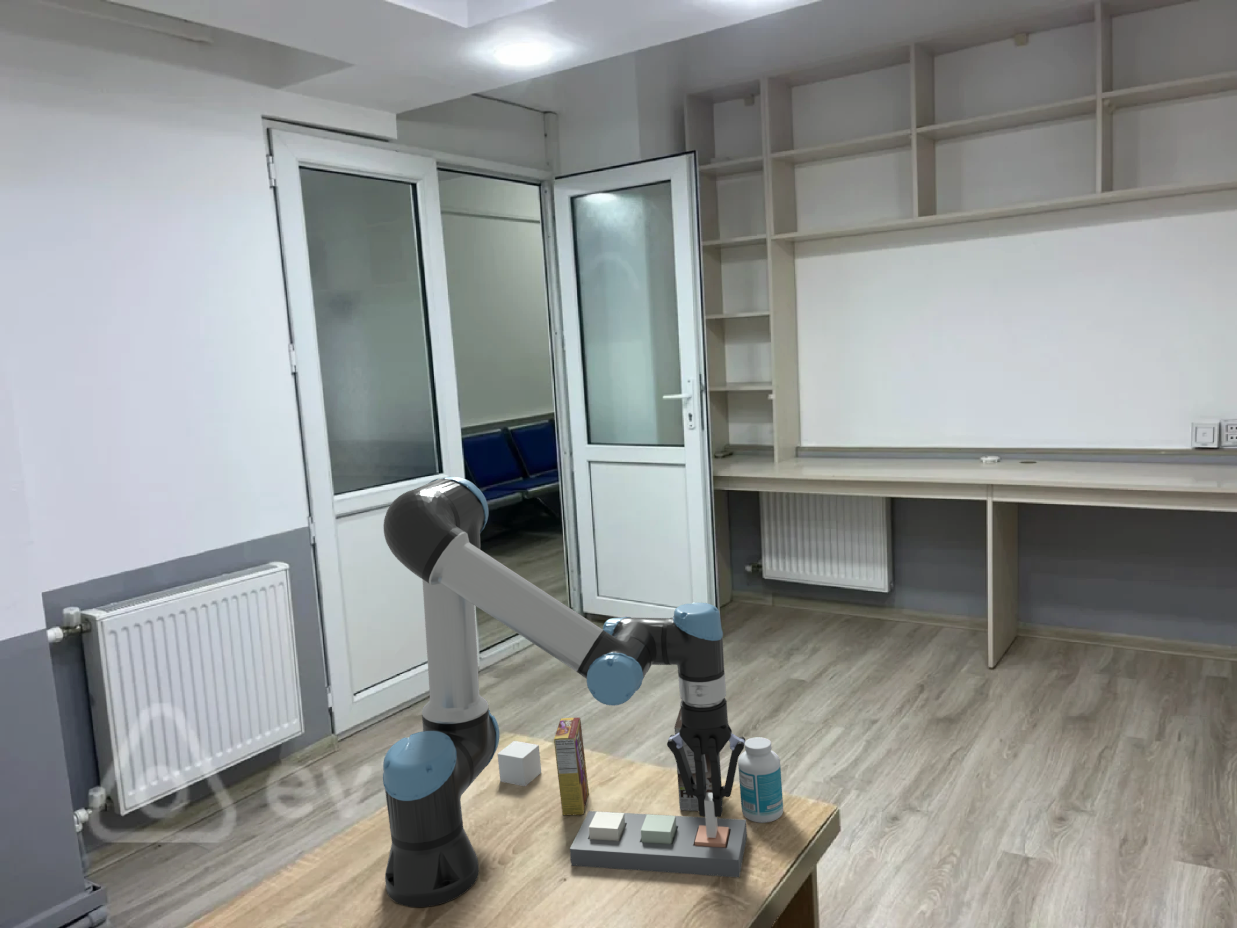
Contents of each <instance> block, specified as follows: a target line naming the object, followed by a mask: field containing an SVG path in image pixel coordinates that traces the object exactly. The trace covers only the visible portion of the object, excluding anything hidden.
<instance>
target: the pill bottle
mask: <svg viewBox="0 0 1237 928" xmlns="http://www.w3.org/2000/svg"><path fill="white" fill-rule="evenodd" d="M772 748H773V746H772V741H771V740H770V739H768V738H767V737H766V738H765V737H761V736H760V737H759V736H758V737H757V736H755V737H750V738H748V739H745V745H744V751H742V752H741V753H740V755H739V757H738V762H737V766H738V779H739V794H740V795H739V796H740V804H741V805H740V806H741V813H742V815H743V816H744V817H745V818H746V819H747V820H749V821H750V822H754V823H762V824H764V823H771V822H774V821H776V820H778V819H780V818H781V817H782V816H783V812H784V799H783V798H784V797H783V787H782V785H783V784H782V783H783V782H782V772H781V771H782V768H781V759H780V756H779V755H778V754H777V753H776V752H775V751H774V750H773V749H772Z"/></svg>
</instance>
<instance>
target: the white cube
mask: <svg viewBox="0 0 1237 928" xmlns="http://www.w3.org/2000/svg"><path fill="white" fill-rule="evenodd" d="M540 754H541V753H540V745H539V744H535V743H528V742H524V741H517V740H513V741H512V742H511V743H509V744H508V745H507V746H506V747H504V748H503V749H501V750H500V751H499V752H498V753H497V762H498V771H499V772H498V773H499V782H501V783H505V784H511V785H516V786H522V787H526V786H527V785H529V784H530V783H532V781H533V780H534V779H536V778H537V777H538V776H539V775H540V774H542V766H541V765H542V764H541V755H540Z"/></svg>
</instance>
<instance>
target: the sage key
mask: <svg viewBox="0 0 1237 928" xmlns="http://www.w3.org/2000/svg"><path fill="white" fill-rule="evenodd" d="M646 814H647V815H646V818H645V821H644V823H643V826H642V828H641V840H642V843H658V844H673V841H674V838H675V835H676V832H677V829H676V816H677V815H671V816H666V815H667V814H653V815H649V813H646Z"/></svg>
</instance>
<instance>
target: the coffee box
mask: <svg viewBox="0 0 1237 928" xmlns="http://www.w3.org/2000/svg"><path fill="white" fill-rule="evenodd" d="M681 726H682V720H681V707H680V708H679V711H678V715H677V718H676V720H675V725H674V728H673V729H674V735H676V734H677V733H679V731H680V728H681ZM682 740H683V739H682ZM683 748H684V751H685V754H686V757H687V760H688V763H689V766H690V769H691V772H692V775H693V779H694V782H695V784H696V773H695V761H694V752H693V751H692V750H691V749H690V748H689V747H688V745H687V744H686V743H685V742H684V740H683ZM704 760H705V775H706V787H707V789H706V793H707V792H708V793H712V779H711V765H710V758H709V755H708V754H704ZM676 772H677V773H676V774H677V787H678V788H677V789H678V799H679V800H678V804H679V810H680V811H690V812H691V811H692V812H699V808H698V799H697V797H696V796H694V795H691V796H689V795H687V793H686V791H685V788H684V784H683V781H682V778H681V775H680V772H679V769H678V766H677V765H676Z"/></svg>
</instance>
